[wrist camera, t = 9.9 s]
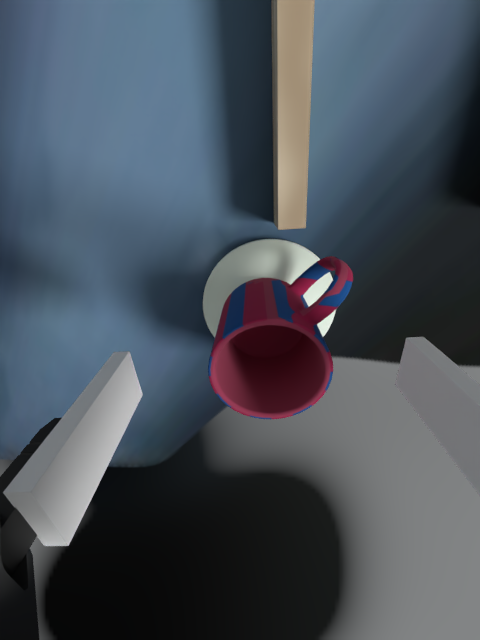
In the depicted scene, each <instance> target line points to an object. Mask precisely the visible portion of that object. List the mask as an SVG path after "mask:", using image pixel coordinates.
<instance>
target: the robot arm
mask: <svg viewBox="0 0 480 640" xmlns="http://www.w3.org/2000/svg"><path fill="white" fill-rule="evenodd" d="M395 385H396V386H397V388H398V389H399V390H400V392H401V393H402V394H403V396H404V397H405V398H406V400H407V401H408V402H409V403H410V405H411V406H412V407H413V409H414V410H415V411H416V413H417V414H418V415H419V417H420V418H421V419H422V421H423V422H424V423H425V425H426V426H427V427H428V429H429V430H430V431H431V432H432V434H433V435H434V436H435V437H436V439H437V440H438V442H439V443H440V444H441V446H442V447H443V448H444V450H445V451H446V452H447V453H448V455H449V456H450V457H451V459H452V460H453V461H454V463H455V464H456V465H457V467H458V468H459V469H460V470H461V472H462V473H463V474H464V476H465V477H466V478H467V480H468V481H469V482H470V484H471V485H472V486H473V488H474V489H475V490H476V492H477V493H478V494H479V496H480V384H479V383H478V382H476V381H475V380H474V379H473V378H472V377H470V376H469V375H468V374H467V373H466V372H464V371H463V370H462V369H461V368H460V367H459V366H457V365H456V364H455V363H454V362H453V361H451V360H450V359H449V358H448V357H447V356H445V355H444V354H443V353H442V352H441V351H440V350H438V349H437V348H436V347H435V346H434V345H432V344H431V343H430V342H429V341H428V340H426V339H425V338H424V337H412V338H406V342H405V346H404V350H403V354H402V358H401V362H400V366H399V370H398V374H397V378H396V382H395ZM141 397H142V391H141V388H140V385H139V381H138V378H137V375H136V371H135V368H134V365H133V362H132V358H131V355H130V352H129V351H127V352H114V353H113V354H112V355H111V357H110V358H109V359H108V360H107V362H106V363H105V364H104V365H103V367H102V368H101V369H100V371H99V372H98V373H97V374H96V376H95V377H94V378H93V379H92V381H91V382H90V383H89V384H88V386H87V387H86V388H85V389H84V391H83V392H82V393H81V395H80V396H79V397H78V398H77V400H76V401H75V402H74V403H73V405H72V406H71V407H70V408H69V410H68V411H67V412H66V413H65V415H64V416H63V417H62V418H54V419H53V420H52V421H50V422H49V423H48V424H47V425H45V426H44V427H43V428H41V429H40V430H39V432H38V433H37V434H36V435H35V436H34V437H33V439H32V440H31V441H30V444H29V445H27V446H26V447H25V448H24V449H23V450H22V452H21V454H20V455H18V456H17V458H16V459H15V460H14V461H13V462H12V464H11V465H10V466H9V467H8V468H7V469H6V471H5V472H4V473H3V474H2V475H1V477H0V640H39V628H38V616H37V603H36V591H35V579H34V566H33V555H32V553H31V550H30V549H29V548H30V547H31V545H32V543H33V542H34V540H35V538H36V536H37V537H38V538H39V539H40V541H41V542H42V543H43V544H44V546H68V545H69V543H70V541H71V539H72V537H73V535H74V533H75V531H76V529H77V527H78V525H79V523H80V521H81V519H82V517H83V515H84V513H85V511H86V509H87V507H88V505H89V503H90V501H91V499H92V497H93V495H94V493H95V491H96V488H97V487H98V484H99V482H100V480H101V478H102V476H103V474H104V472H105V470H106V468H107V466H108V464H109V462H110V460H111V458H112V456H113V454H114V452H115V450H116V448H117V446H118V444H119V442H120V440H121V438H122V436H123V434H124V432H125V430H126V428H127V426H128V423H129V421H130V419H131V417H132V415H133V413H134V411H135V409H136V407H137V405H138V403H139V401H140V399H141Z"/></svg>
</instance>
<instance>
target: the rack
mask: <svg viewBox="0 0 480 640" xmlns="http://www.w3.org/2000/svg"><path fill="white" fill-rule="evenodd" d="M271 8H272V99H273V189H274V224H275V225H276V227H277V229H278V230H282V229H298V228H306V206H307V180H308V155H309V129H310V103H311V77H312V52H313V26H314V0H271Z"/></svg>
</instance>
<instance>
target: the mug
mask: <svg viewBox="0 0 480 640" xmlns="http://www.w3.org/2000/svg"><path fill="white" fill-rule="evenodd" d="M333 270H335V271H336V272H335V276H334V279H333V281H332V282H331V284H330V286H329V287H328V288H327V290H326V291H325V292H324V293H323V295H322V296H321V297H320V298H319V299H318V300H317V301H316V302H314V303H313V304H312V305H310V306H309V307H308V305H307V303H306V301H305V299H304V297H303V295H304V294H305V293H306V291H307V290H308V289H309V288H310V287H311V286H312V285H313V284H314V283H315V282H316V281H317V280H319V279H320V278H321V277H323V276H324V275H325V274H327V273H329V272H330V271H333ZM352 281H353V274H352V271H351V269H350V268H349V266H348V265H347V264H346V263H345V262H343V261H342V260H340V259H338V258H336V257H332V256H330V257H325V258H323V259H321V260H319V261H317V262H316V263H314V264H313V265H312V266H310V267H309V268H308V269H307V270H306V271H304V272H303V273H302V274H301V275H300V276H299V277H298V278H297V279H296V280H295V281H294V282H293V283H292V284H289V283H287V282H285V281H282V280H279V279H274V278H258V279H253V280H250V281H247V282H245V283H243V284H242V285H240V286H238V287H237V288H236V289H235V290H233V292H232V293H231V294H230V295H229V296H228V298H227V300H226V301H225V303H224V306H223V309H222V313H221V316H220V320H219V324H218V328H217V332H216V336H215V340H214V343H213V347H212V351H211V355H210V359H209V366H208V373H209V379H210V383H211V386H212V388H213V390H214V391H215V393H216V394H217V396H218V397H219V398H220V400H222V401H223V402H224V403H225V404H226V405H227V406H229V407H230V408H232V409H233V410H235V411H237V412H239V413H241V414H243V415H247V416H250V417H254V418H260V419H279V418H285V417H289V416H293V415H296V414H298V413H301V412H303V411H305V410H306V409H308V408H310V407H311V406H312V405H314V404H315V403H316V402H317V401H318V400H319V399H320V398H321V397H322V396H323V395H324V393H325V392H326V390H327V389H328V387H329V384H330V382H331V379H332V374H333V361H332V357H331V354H330V351H329V349H328V347H327V345H326V343H325V341H324V338H323V336H322V334H321V332H320V330H319V328H318V326H317V324H318V323H320V322H321V321H322V320H324V319H325V318H326V317H328V316H329V315H330V314H331V313H332V312H333V311H334V310H335V309H336V308H338V307H339V305H340V304H341V303H342V302H343V301H344V299H345V298H346V296H347V295H348V293H349V291H350V288H351V285H352Z"/></svg>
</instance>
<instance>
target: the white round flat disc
mask: <svg viewBox="0 0 480 640" xmlns="http://www.w3.org/2000/svg"><path fill="white" fill-rule="evenodd" d="M319 260H320V259H319V258H318V257H317V256H316V255H315V254H314V253H312V252H311V251H310V250H308V249H307V248H305V247H303V246H301V245H299V244H297V243H295V242H291V241H288V240H283V239H259V240H255V241H251V242H248V243H245V244H243V245H240V246H238V247H237V248H235V249H233V250H232V251H230V252H229V253H228V254H226V255H225V256H224V257H223V258H222V259H221V260H220V261H219V262H218V264H217V265H216V266H215V268H214V269H213V271H212V273H211V274H210V276H209V278H208V281H207V283H206V286H205V290H204V294H203V312H204V317H205V320H206V323H207V326H208V328H209V330H210V332H211V333H212V335H213V336H214V338H215V336H216V332H217V328H218V324H219V320H220V316H221V313H222V309H223V306H224V303H225V301H226V300H227V298H228V296H229V295H230V294H231V293H232V292H233V290H235V289H236V288H237V287H238V286H240V285H242V284H243V283H245V282H247V281H250V280H253V279H258V278H274V279H279V280H282V281H285V282H287V283H289V284H292V283H293V282H294V281H295V280H296V279H297V278H298V277H299V276H300V275H301V274H302V273H303V272H304V271H306V270H307V269H308V268H309V267H310V266H312V265H313V264H314V263H316V262H317V261H319ZM332 281H333V279H332V276H331V274H330V272H329V273H327V274H325V275H324V276H323V277H321V278H320V279H319V280H317V281H316V282H315V283H314V284H313V285H312V286H311V287H310V288H309V289H308V290H307V291H306V293H305V294H304V295H303V297H304V299H305V301H306V303H307V305H308V307H309V306H310V305H312V304H313V303H314V302H316V301H317V300H318V299H319V298H320V297H321V296H322V295H323V293H324V292H325V291H326V290H327V288H328V287H329V286H330V284H331V282H332ZM335 311H336V309H335V310H334V311H333V312H332V313H331V314H330V315H329V316H328V317H326V318H325V319H324V320H322V321H321V322H320V323H318V324H317V326H318V328H319V330H320V332H321V334H322V336H324V335H325V334H326V332H327V331H328V329H329V327H330V325H331V323H332V321H333V318H334V315H335Z"/></svg>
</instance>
